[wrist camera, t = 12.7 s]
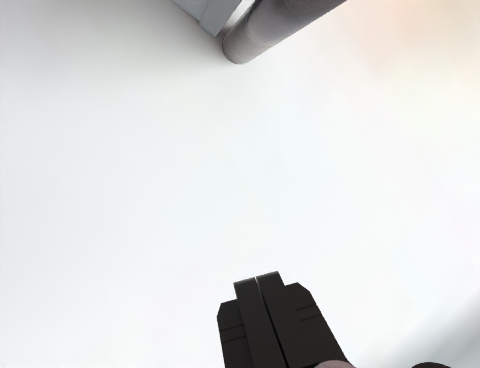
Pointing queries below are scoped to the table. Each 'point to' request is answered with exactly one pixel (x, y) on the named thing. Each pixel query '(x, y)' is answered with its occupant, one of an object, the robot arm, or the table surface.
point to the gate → (209, 12)
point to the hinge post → (271, 25)
